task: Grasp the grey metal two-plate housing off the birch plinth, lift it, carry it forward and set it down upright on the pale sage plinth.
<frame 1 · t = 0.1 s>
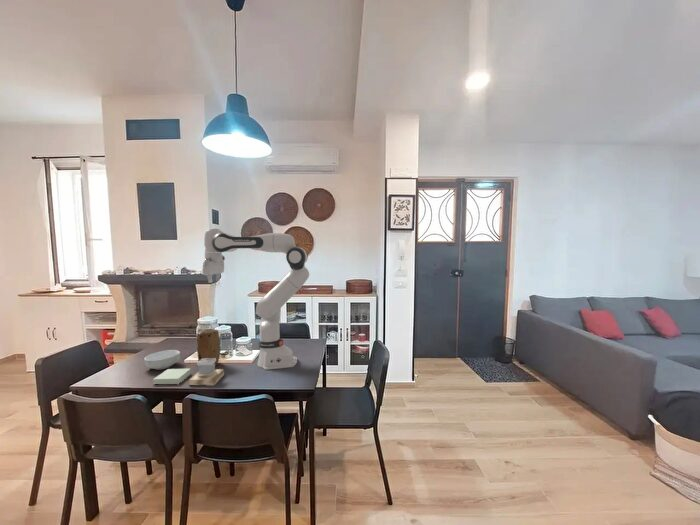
hand: (214, 281, 163), 48 cm above the table, fingers open, 8 cm apart
housing: (207, 374, 145), point 3 cm above the table, touching stand a
cereal bowl: (163, 367, 162), on the table
stand a: (207, 380, 145), on the table
brown jar: (208, 365, 165), on the table
stand b: (173, 379, 146), on the table
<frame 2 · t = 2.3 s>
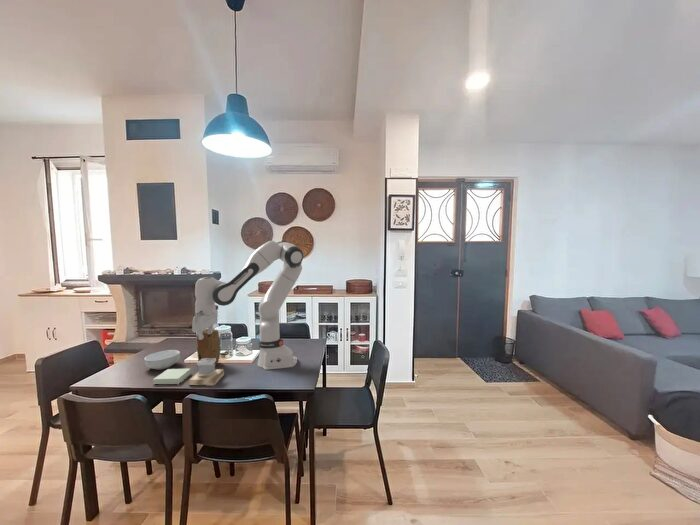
hand: (205, 336, 144), 22 cm above the table, fingers open, 8 cm apart
nothing on the table moved.
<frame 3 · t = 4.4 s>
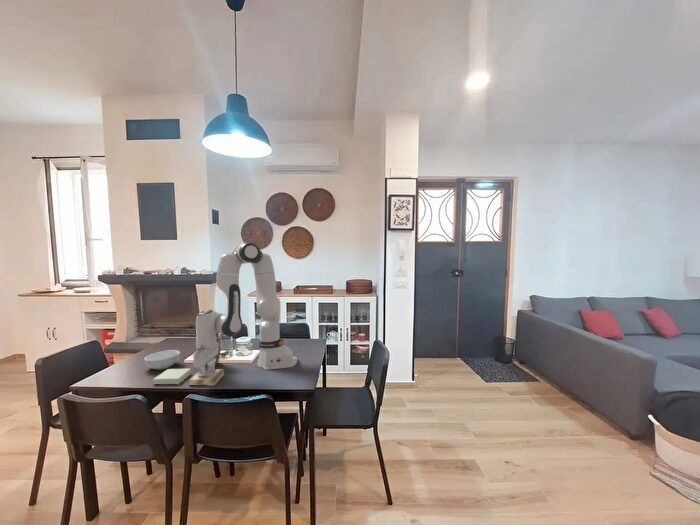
hand: (206, 369, 145), 5 cm above the table, fingers closed on housing, 5 cm apart
housing: (207, 374, 145), point 3 cm above the table, touching gripper, stand a
everything else where it was.
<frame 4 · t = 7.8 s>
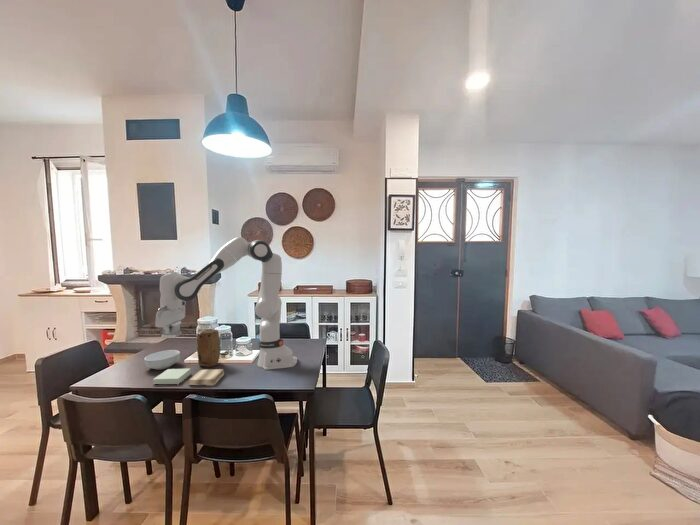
hand: (171, 331, 145), 25 cm above the table, fingers closed on housing, 5 cm apart
housing: (171, 336, 145), point 22 cm above the table, touching gripper
everything else where it was.
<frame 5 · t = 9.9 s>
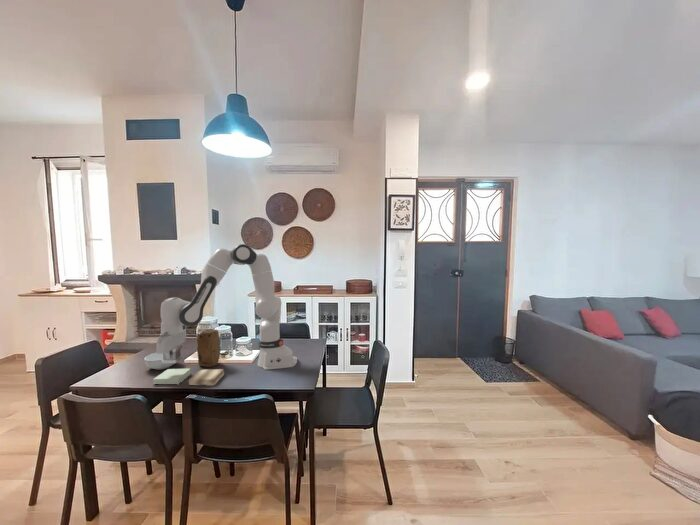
hand: (172, 356, 146), 12 cm above the table, fingers closed on housing, 5 cm apart
housing: (172, 360, 146), point 10 cm above the table, touching gripper
everything else where it was.
when the fingers open (7 cm above the table, at t = 11.4 s): housing drops 2 cm, resting on stand b.
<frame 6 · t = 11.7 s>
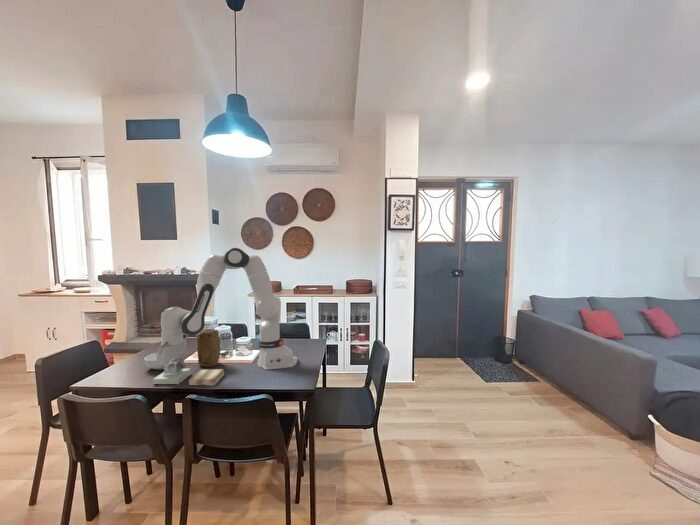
hand: (172, 366, 146), 7 cm above the table, fingers open, 8 cm apart
housing: (172, 373, 146), point 3 cm above the table, touching stand b
everything else where it was.
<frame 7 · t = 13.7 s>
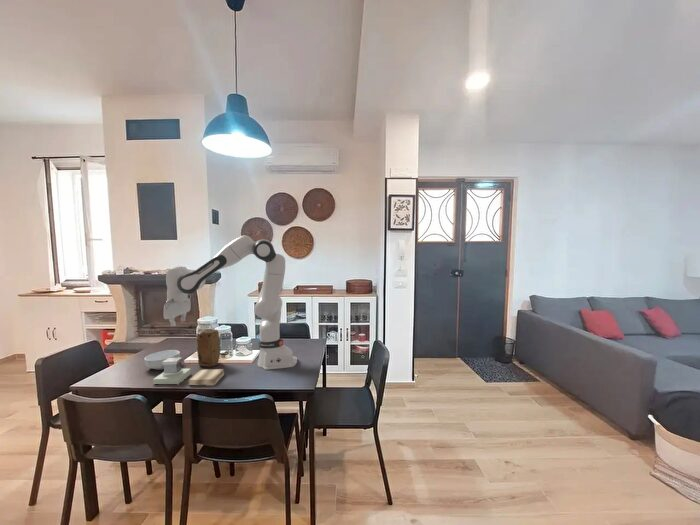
hand: (178, 323, 151), 27 cm above the table, fingers open, 8 cm apart
nothing on the table moved.
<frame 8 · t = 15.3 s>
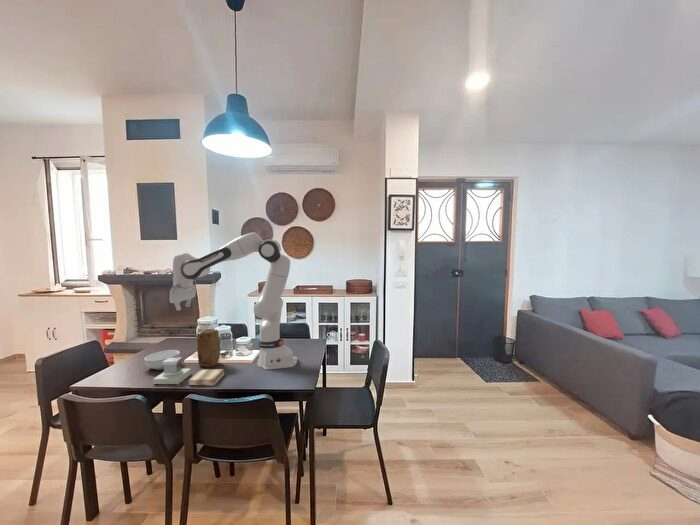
hand: (183, 308, 157), 34 cm above the table, fingers open, 8 cm apart
nothing on the table moved.
at the end: housing inside the target area on the stand b (0.1 cm from its centre), point 3.0 cm above the stand b's base; housing tilted 0°; the gripper is holding nothing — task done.
